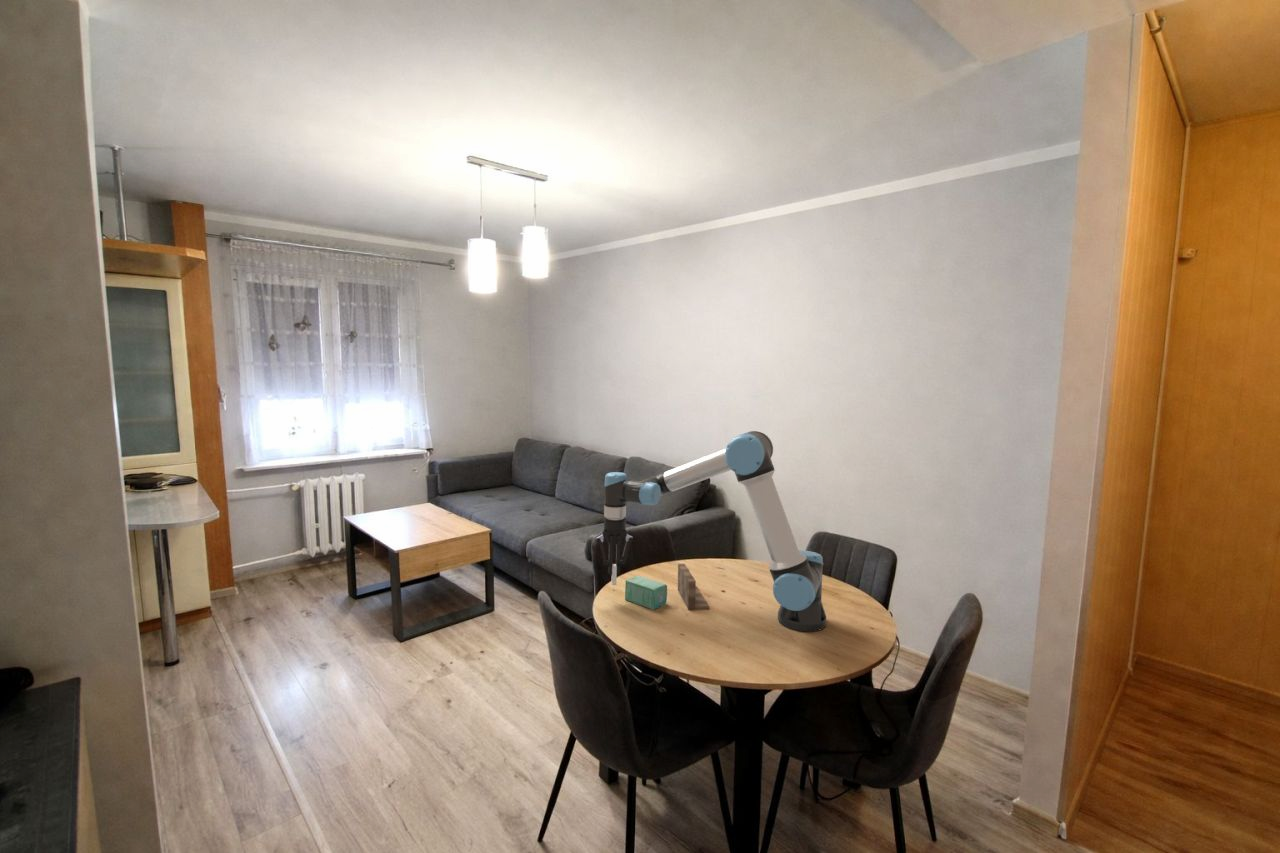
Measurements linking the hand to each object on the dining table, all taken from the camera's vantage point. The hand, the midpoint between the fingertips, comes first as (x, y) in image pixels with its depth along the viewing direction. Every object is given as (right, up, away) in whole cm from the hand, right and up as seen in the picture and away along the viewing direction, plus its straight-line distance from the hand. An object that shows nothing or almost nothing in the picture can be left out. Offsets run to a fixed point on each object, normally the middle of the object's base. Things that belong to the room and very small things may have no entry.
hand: (613, 583), depth 193 cm
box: (+11, -7, +1) cm, 13 cm away
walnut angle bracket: (+28, -7, +4) cm, 29 cm away
